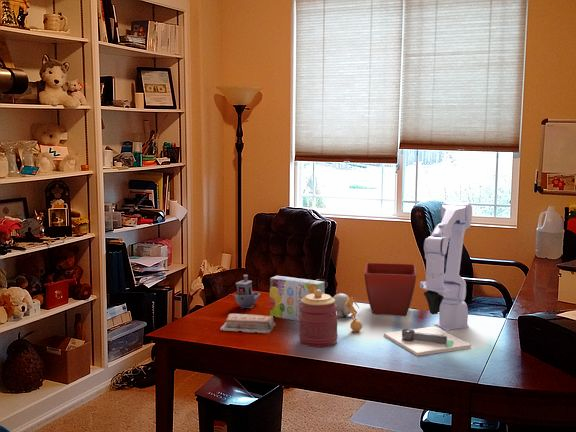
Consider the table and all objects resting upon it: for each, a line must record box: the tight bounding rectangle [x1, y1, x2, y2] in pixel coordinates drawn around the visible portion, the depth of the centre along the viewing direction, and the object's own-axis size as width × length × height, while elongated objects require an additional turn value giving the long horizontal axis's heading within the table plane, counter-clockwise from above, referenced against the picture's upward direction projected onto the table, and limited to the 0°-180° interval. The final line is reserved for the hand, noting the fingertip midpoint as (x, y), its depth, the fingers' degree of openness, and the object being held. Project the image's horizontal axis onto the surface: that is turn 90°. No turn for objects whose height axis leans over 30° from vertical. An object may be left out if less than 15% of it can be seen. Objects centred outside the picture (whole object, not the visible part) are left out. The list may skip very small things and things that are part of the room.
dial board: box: [383, 326, 472, 357], centre depth 213 cm, size 20×21×1 cm
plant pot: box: [363, 262, 417, 317], centre depth 249 cm, size 19×19×17 cm
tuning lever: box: [401, 328, 447, 344], centre depth 210 cm, size 14×4×3 cm, turn 67°
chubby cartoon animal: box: [332, 292, 352, 318], centre depth 244 cm, size 7×12×8 cm, turn 57°
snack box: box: [269, 275, 326, 322], centre depth 240 cm, size 21×6×15 cm, turn 58°
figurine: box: [345, 296, 363, 333], centre depth 225 cm, size 8×6×12 cm
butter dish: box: [219, 313, 276, 334], centre depth 230 cm, size 18×5×10 cm
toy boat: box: [233, 274, 261, 309], centre depth 256 cm, size 15×8×13 cm, turn 158°
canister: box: [298, 290, 339, 348], centre depth 213 cm, size 13×13×18 cm
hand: (434, 313), depth 213 cm, fingers closed
